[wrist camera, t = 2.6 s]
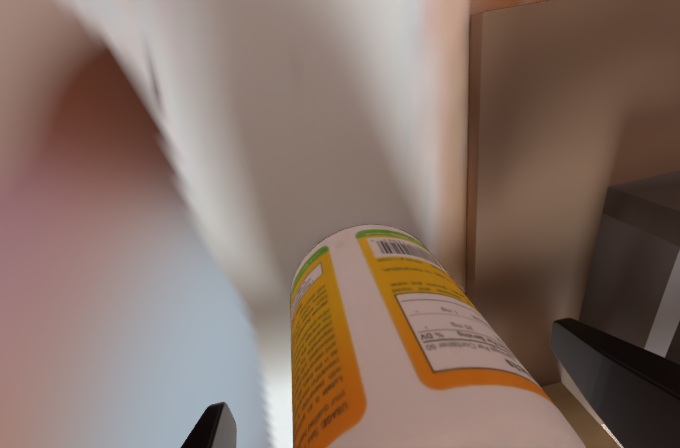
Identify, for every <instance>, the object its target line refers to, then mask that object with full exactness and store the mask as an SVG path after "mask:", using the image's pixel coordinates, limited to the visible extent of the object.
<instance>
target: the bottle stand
mask: <svg viewBox="0 0 680 448" xmlns="http://www.w3.org/2000/svg"><path fill="white" fill-rule="evenodd" d="M466 296H467V298H468V299H469V300H470V301H471V303H472V304H473V305H474V306H475V308H476V309H477V310H478V311H479V312H480V314H481V315H482V316H483V317H484V319H485V320H486V321H487V322H488V324H489V325H490V326H491V327H492V329H493V330H494V331H495V332H496V333H497V335H498V336H499V337H500V338H501V340H502V341H503V342H504V343H505V344H506V346H507V347H508V348H509V349H510V351H511V352H512V353H513V354H514V355H515V357H516V358H517V359H518V360H519V362H520V363H521V364H522V365H523V367H524V368H525V369H526V370H527V371H528V373H529V374H530V375H531V376H532V377H533V379H534V380H535V381H536V382H537V383H538V384H539V386H540V387H541V388H542V390H543V391H544V392H545V394H546V395H547V396H548V397H549V398H550V399H551V401H552V402H553V403H554V404H555V406H556V407H557V408H558V409H559V411H560V412H561V413H562V415H563V416H564V417H565V419H566V420H567V421H568V423H569V424H570V425H571V427H572V428H573V429H574V431H575V432H576V433H577V435H578V436H579V437H580V439H581V440H582V442H583V443H584V445H585V447H586V448H621V447H620V446H619V445H618V444H617V443H616V442H615V441H614V440H613V439H612V437H611V436H610V435H609V434H608V433H607V432H606V431H605V430H604V429H603V427H602V426H601V425H600V424H604V423H603V421H602V420H601V419H600V418H599V416H598V415H597V414H596V413H595V411H594V410H593V409H592V408H591V406H590V405H589V404H588V402H587V401H586V399H585V398H584V397H583V395H582V394H581V392H580V391H579V389H578V388H577V386H576V385H575V383H574V382H573V380H572V379H571V377H570V376H569V375H568V373H567V372H566V370H565V369H564V367H563V366H562V364H561V363H560V361H559V360H558V358H557V357H556V355H555V354H554V352H553V351H552V349H551V346H550V336H551V330H552V324H553V322H554V321H555V320H559V319H563V318H573V319H575V320H578V321H580V322H582V323H585V324H587V325H589V326H592V327H594V328H596V329H599V330H601V331H603V332H606V333H608V334H610V335H613V336H615V337H617V338H620V339H622V340H624V341H627V342H629V343H631V344H634V345H636V346H638V347H641V348H643V349H645V350H648V351H650V352H653V353H655V354H657V355H660V356H662V357H664V358H667V359H669V360H671V361H674V362H676V363H678V364H680V0H549V1H543V2H537V3H532V4H526V5H520V6H514V7H509V8H503V9H497V10H491V11H486V12H481V13H478V14H475V15H472V16H471V21H470V84H469V148H468V211H467V274H466Z"/></svg>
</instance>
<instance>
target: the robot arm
mask: <svg viewBox="0 0 680 448" xmlns="http://www.w3.org/2000/svg"><path fill="white" fill-rule="evenodd" d="M550 346H551V349H552V351H553V352H554V354H555V355H556V357H557V358H558V360H559V361H560V363H561V364H562V366H563V367H564V369H565V370H566V372H567V373H568V375H569V376H570V377H571V379H572V380H573V382H574V383H575V385H576V386H577V388H578V389H579V391H580V392H581V394H582V395H583V397H584V398H585V399H586V401H587V402H588V404H589V405H590V406H591V408H592V409H593V410H594V411H595V413H596V414H597V415H598V416H599V418H600V419H601V420H602V421H603V423H604V424H605V425H606V426H607V428H608V429H609V430H610V431H611V432H612V434H613V435H614V436H615V437H616V439H617V440H618V441H619V442H620V444H621V445H622V446H623V447H624V448H680V364H678V363H676V362H674V361H671V360H669V359H667V358H664V357H662V356H660V355H657V354H655V353H653V352H650V351H648V350H645V349H643V348H641V347H638V346H636V345H634V344H631V343H629V342H627V341H624V340H622V339H620V338H617V337H615V336H613V335H610V334H608V333H606V332H603V331H601V330H599V329H596V328H594V327H592V326H589V325H587V324H585V323H582V322H580V321H578V320H575V319H573V318H563V319H559V320H555V321H554V322H553V324H552V330H551V336H550ZM236 435H237V428H236V422H235V420H234V417H233V415H232V413H231V411H230V409H229V407H228V405H227V404H226V403H225V402H221V403H217V404H213V405H210V406H209V407H208V408H207V409H206V410H205V412H204V413H203V415H202V416H201V418H200V419H199V421H198V422H197V424H196V425H195V427H194V429H193V430H192V431H191V433H190V434H189V436H188V437H187V439H186V440H185V442H184V444H183V445H182V447H181V448H236Z"/></svg>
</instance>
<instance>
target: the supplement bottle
mask: <svg viewBox="0 0 680 448" xmlns="http://www.w3.org/2000/svg"><path fill="white" fill-rule="evenodd" d="M290 318H291V363H292V412H293V448H586V447H585V445H584V443H583V442H582V440H581V439H580V437H579V436H578V435H577V433H576V432H575V431H574V429H573V428H572V427H571V425H570V424H569V423H568V421H567V420H566V419H565V417H564V416H563V415H562V413H561V412H560V411H559V409H558V408H557V407H556V406H555V404H554V403H553V402H552V401H551V399H550V398H549V397H548V396H547V395H546V394H545V392H544V391H543V390H542V388H541V387H540V386H539V384H538V383H537V382H536V381H535V380H534V379H533V377H532V376H531V375H530V374H529V373H528V371H527V370H526V369H525V368H524V367H523V365H522V364H521V363H520V362H519V360H518V359H517V358H516V357H515V355H514V354H513V353H512V352H511V351H510V349H509V348H508V347H507V346H506V344H505V343H504V342H503V341H502V340H501V338H500V337H499V336H498V335H497V333H496V332H495V331H494V330H493V329H492V327H491V326H490V325H489V324H488V322H487V321H486V320H485V319H484V317H483V316H482V315H481V314H480V312H479V311H478V310H477V309H476V308H475V306H474V305H473V304H472V303H471V301H470V300H469V299H468V298H467V296H466V295H465V294H464V293H463V292H462V290H461V289H460V288H459V287H458V285H457V284H456V283H455V282H454V281H453V279H452V278H451V277H450V276H449V274H448V273H447V272H446V271H445V270H444V268H443V267H442V266H441V265H440V263H439V262H438V261H437V260H436V259H435V257H434V256H433V255H432V254H431V253H430V252H429V251H428V250H427V248H426V247H425V246H424V245H423V244H422V243H421V242H419V241H418V240H417V239H416V238H414V237H413V236H411V235H410V234H408V233H406V232H404V231H402V230H399V229H397V228H393V227H390V226H384V225H361V226H355V227H351V228H347V229H344V230H342V231H339V232H337V233H335V234H333V235H331V236H329V237H328V238H326V239H325V240H323V241H322V242H320V243H319V244H318V245H317V246H315V247H314V248H313V249H312V250H311V251H310V252H309V253H308V254H307V256H306V257H305V258H304V260H303V261H302V262H301V264H300V266H299V267H298V269H297V271H296V273H295V276H294V279H293V282H292V287H291V295H290Z"/></svg>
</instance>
